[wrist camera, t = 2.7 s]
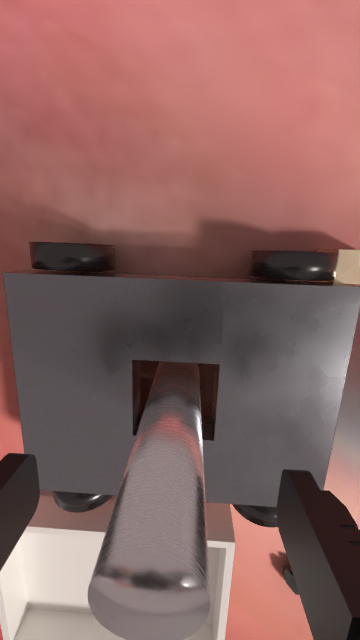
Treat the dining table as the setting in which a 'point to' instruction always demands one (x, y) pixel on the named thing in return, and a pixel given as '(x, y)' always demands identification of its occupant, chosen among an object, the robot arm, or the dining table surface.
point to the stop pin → (158, 521)
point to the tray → (89, 574)
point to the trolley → (181, 346)
